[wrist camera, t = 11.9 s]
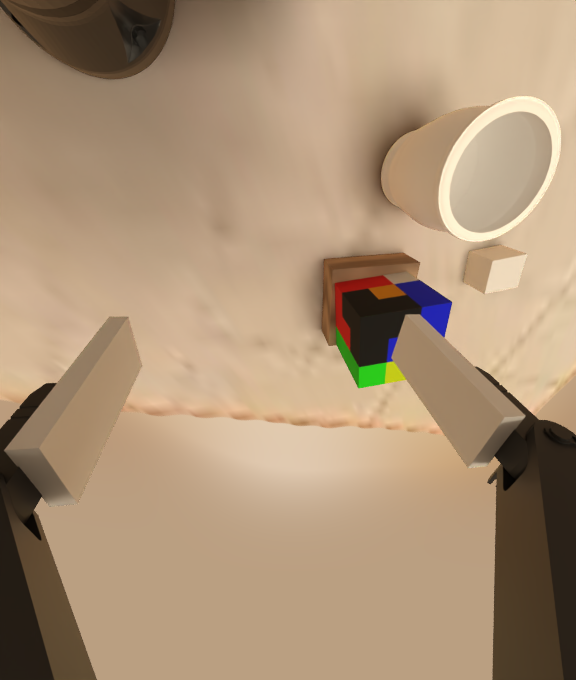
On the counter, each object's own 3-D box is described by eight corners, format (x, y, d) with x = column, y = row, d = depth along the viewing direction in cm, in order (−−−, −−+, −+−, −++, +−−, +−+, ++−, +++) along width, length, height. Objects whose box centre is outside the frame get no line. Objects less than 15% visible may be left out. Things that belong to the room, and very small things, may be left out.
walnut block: (323, 258, 41) (332, 269, 37) (402, 252, 42) (420, 262, 38) (321, 329, 48) (328, 345, 43) (389, 322, 49) (403, 337, 45)
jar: (360, 149, 34) (427, 143, 22) (443, 99, 33) (567, 62, 20) (385, 230, 40) (449, 263, 27) (456, 190, 38) (560, 207, 26)
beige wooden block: (468, 251, 43) (492, 260, 39) (500, 244, 43) (527, 254, 39) (462, 281, 46) (484, 293, 42) (492, 275, 46) (517, 287, 42)
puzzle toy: (406, 271, 38) (452, 302, 30) (399, 333, 44) (436, 374, 35) (334, 282, 38) (360, 317, 30) (336, 344, 43) (358, 388, 35)
